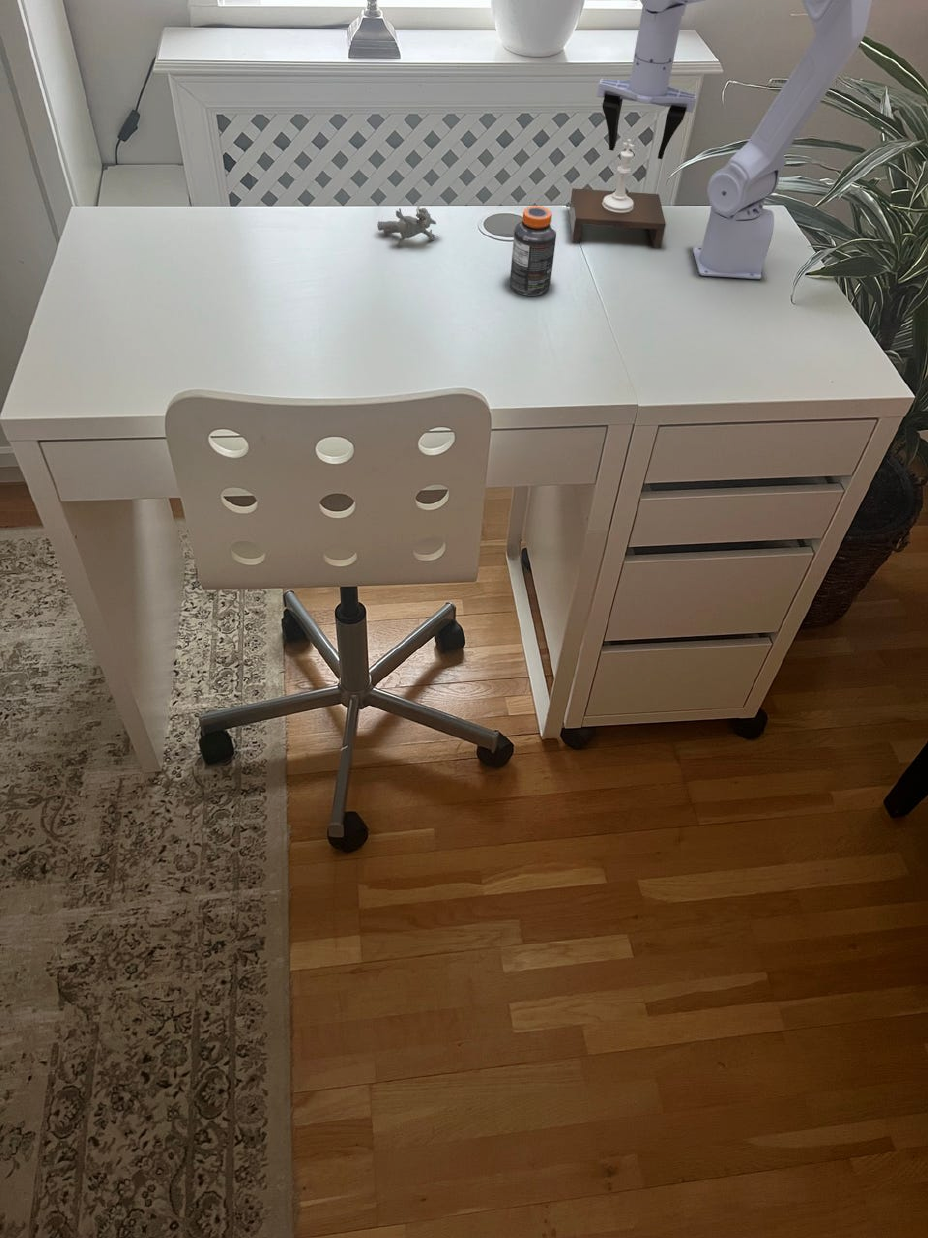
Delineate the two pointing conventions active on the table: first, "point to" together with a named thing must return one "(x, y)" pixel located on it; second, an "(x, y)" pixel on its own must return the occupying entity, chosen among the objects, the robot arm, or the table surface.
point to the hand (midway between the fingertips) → (636, 151)
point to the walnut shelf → (592, 212)
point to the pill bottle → (533, 252)
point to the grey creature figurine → (409, 225)
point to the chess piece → (621, 185)
